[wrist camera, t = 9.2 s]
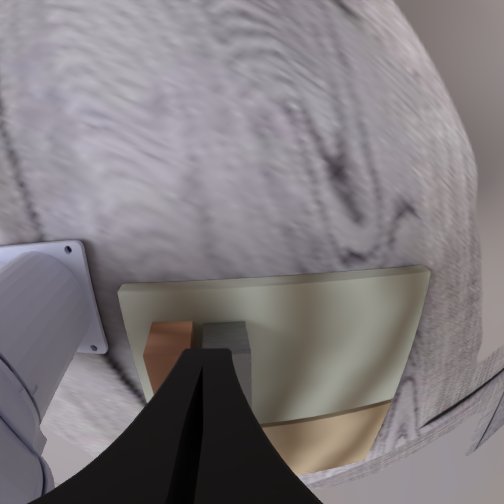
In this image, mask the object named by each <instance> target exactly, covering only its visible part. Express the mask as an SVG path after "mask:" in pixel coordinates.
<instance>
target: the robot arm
mask: <svg viewBox="0 0 504 504" xmlns="http://www.w3.org/2000/svg"><path fill="white" fill-rule="evenodd" d="M67 246H70V247H71V249H72V252H69V251H68V249H67ZM93 345H94V346H96V347H97V348H95V347H93ZM107 350H108V344H107V340H106V337H105V334H104V330H103V327H102V323H101V319H100V316H99V312H98V308H97V304H96V300H95V296H94V292H93V287H92V283H91V278H90V274H89V269H88V264H87V259H86V253H85V248H84V245H83V243H82V242H81V241H79V240H64V241H52V242H39V243H27V244H16V245H5V246H0V504H323V503H322V502H321V501H320V500H319V499H318V498H317V497H316V496H315V495H314V494H313V493H312V492H311V491H310V490H309V489H308V488H307V487H306V486H305V484H304V483H303V482H302V481H301V480H300V479H299V478H298V477H297V476H296V475H295V474H294V472H293V471H292V470H291V469H290V467H289V466H288V465H287V464H286V462H285V461H284V460H283V459H282V457H281V456H280V455H279V453H278V452H277V450H276V449H275V448H274V446H273V445H272V443H271V442H270V440H269V439H268V437H267V436H266V434H265V433H264V431H263V429H262V428H261V426H260V424H259V422H258V421H257V419H256V417H255V415H254V413H253V412H252V410H251V408H250V406H249V404H248V401H247V399H246V397H245V395H244V393H243V391H242V388H241V386H240V383H239V381H238V378H237V375H236V372H235V368H234V365H233V360H232V351H231V350H229V349H228V348H211V349H188V348H186V349H184V350H183V351H182V353H181V354H180V356H179V358H178V360H177V361H176V363H175V365H174V366H173V368H172V369H171V371H170V372H169V374H168V376H167V377H166V379H165V380H164V382H163V383H162V384H161V386H160V387H159V389H158V390H157V391H156V393H155V394H154V396H153V397H152V398H151V400H150V401H149V402H148V404H147V405H146V406H145V407H144V408H143V410H142V411H141V412H140V413H139V415H138V416H137V417H136V418H135V419H134V421H133V422H132V423H131V424H130V425H129V426H128V427H127V429H126V430H125V431H124V432H123V433H122V434H121V435H120V436H119V437H118V438H117V439H116V440H115V441H114V442H113V443H112V444H111V445H110V446H109V447H108V448H107V449H106V450H105V451H103V452H102V453H101V454H100V455H99V456H98V457H97V458H95V459H94V460H93V461H92V462H91V463H90V464H88V465H87V466H86V467H85V468H83V469H82V470H81V471H79V472H78V473H77V474H76V475H74V476H72V477H71V478H70V479H68V480H66V481H65V482H64V483H62V484H61V485H59V486H58V487H56V488H55V485H54V479H53V475H52V472H51V469H50V468H49V465H48V464H47V462H46V461H45V460H44V458H43V457H41V454H42V452H43V449H44V446H45V444H46V441H47V439H46V437H45V436H44V435H43V433H42V432H41V430H40V424H41V422H42V420H43V417H44V415H45V413H46V411H47V409H48V406H49V404H50V402H51V400H52V398H53V396H54V394H55V392H56V390H57V388H58V386H59V384H60V382H61V380H62V378H63V376H64V374H65V372H66V370H67V368H68V366H69V364H70V362H71V360H72V358H73V356H74V355H75V353H76V352H77V353H95V354H105V353H106V352H107Z"/></svg>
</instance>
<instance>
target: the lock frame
mask: <svg viewBox="0 0 504 504" xmlns="http://www.w3.org/2000/svg"><path fill="white" fill-rule="evenodd" d="M430 276H431V271H430V270H429V269H427V268H426V267H424V266H423V265H416V266H405V267H394V268H382V269H370V270H358V271H345V272H332V273H319V274H304V275H289V276H274V277H257V278H240V279H221V280H201V281H179V282H154V283H125V284H122V285H121V287H120V289H119V290H118V292H117V294H118V299H119V303H120V308H121V312H122V316H123V321H124V325H125V329H126V333H127V337H128V340H129V344H130V348H131V352H132V355H133V359H134V362H135V366H136V369H137V372H138V376H139V379H140V382H141V385H142V388H143V391H144V394H145V397H146V400H147V403H148V402H149V401H150V400H151V398H152V397H153V396H154V394H155V393H156V391H157V390H158V389H159V387H160V386H161V384H162V383H163V382H164V380H165V379H166V377H167V376H168V374H169V372H170V371H171V369H172V368H173V366H174V365H175V363H176V361H177V360H178V358H179V356H180V354H181V353H182V351H183V350H184V349H186V348H188V349H202V342H203V323H218V322H236V321H245V323H246V328H247V334H248V339H249V344H250V349H251V379H252V412H253V413H254V415H255V417H256V419H257V421H258V422H259V424H260V426H261V428H262V429H263V431H264V433H265V434H266V436H267V437H268V439H269V440H270V442H271V443H272V445H273V446H274V448H275V449H276V450H277V452H278V453H279V455H280V456H281V457H282V459H283V460H284V461H285V462H286V464H287V465H288V466H289V467H290V469H291V470H292V471H293V472H294V474H295V475H302V474H308V473H313V472H318V471H322V470H327V469H331V468H336V467H340V466H344V465H348V464H352V463H355V462H359V461H362V460H365V458H366V456H367V454H368V452H369V450H370V448H371V446H372V444H373V442H374V440H375V438H376V436H377V434H378V432H379V430H380V428H381V425H382V423H383V421H384V419H385V416H386V414H387V412H388V409H389V407H390V405H391V401H390V400H389V399H392V398H393V397H394V395H395V392H396V390H397V387H398V384H399V382H400V379H401V376H402V374H403V371H404V368H405V365H406V362H407V359H408V356H409V353H410V350H411V347H412V344H413V341H414V338H415V334H416V331H417V327H418V324H419V320H420V317H421V313H422V309H423V305H424V302H425V297H426V293H427V289H428V285H429V280H430Z"/></svg>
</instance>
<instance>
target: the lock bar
mask: <svg viewBox="0 0 504 504" xmlns="http://www.w3.org/2000/svg"><path fill="white" fill-rule="evenodd" d="M211 348H228V349H229V350H231V351H232V360H233V365H234V368H235V372H236V375H237V378H238V381H239V383H240V386H241V388H242V391H243V393H244V395H245V397H246V399H247V401H248V404H249V406H250V408H251V410H252V379H251V349H250V344H249V339H248V334H247V328H246V323H245V321H236V322H218V323H203V342H202V349H211Z"/></svg>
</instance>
